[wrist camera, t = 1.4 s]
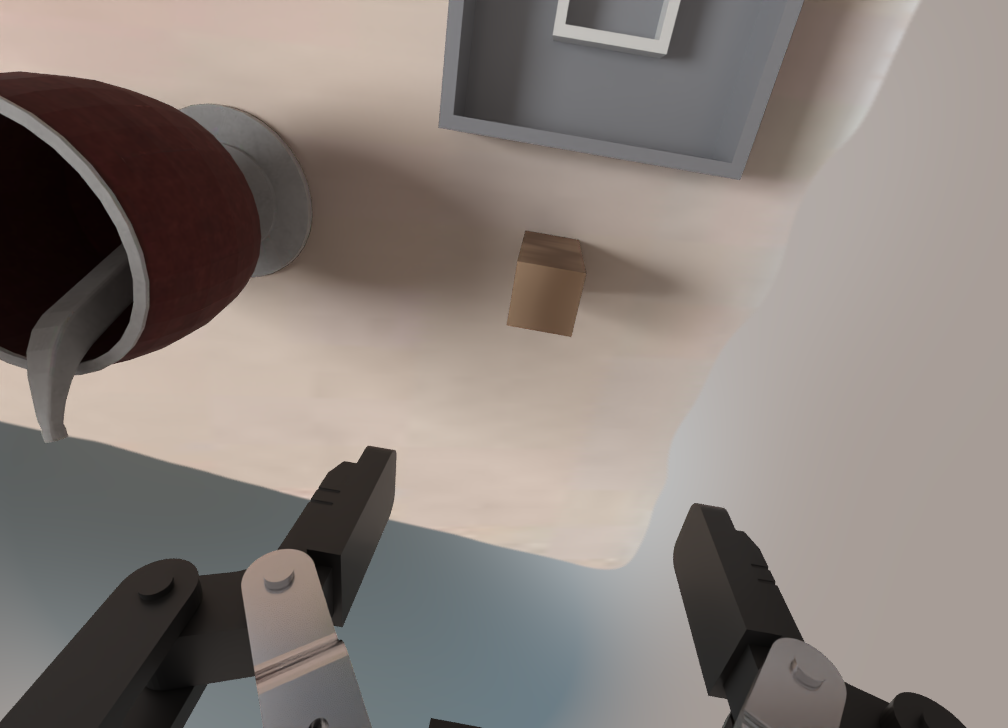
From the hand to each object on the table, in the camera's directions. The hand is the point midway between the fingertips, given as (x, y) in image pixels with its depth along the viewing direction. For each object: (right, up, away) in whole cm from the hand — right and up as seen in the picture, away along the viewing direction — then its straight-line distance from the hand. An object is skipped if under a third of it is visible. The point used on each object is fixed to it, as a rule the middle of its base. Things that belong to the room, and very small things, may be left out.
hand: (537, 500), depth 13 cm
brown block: (+2, +11, +23) cm, 26 cm away
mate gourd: (-21, +16, +24) cm, 36 cm away
